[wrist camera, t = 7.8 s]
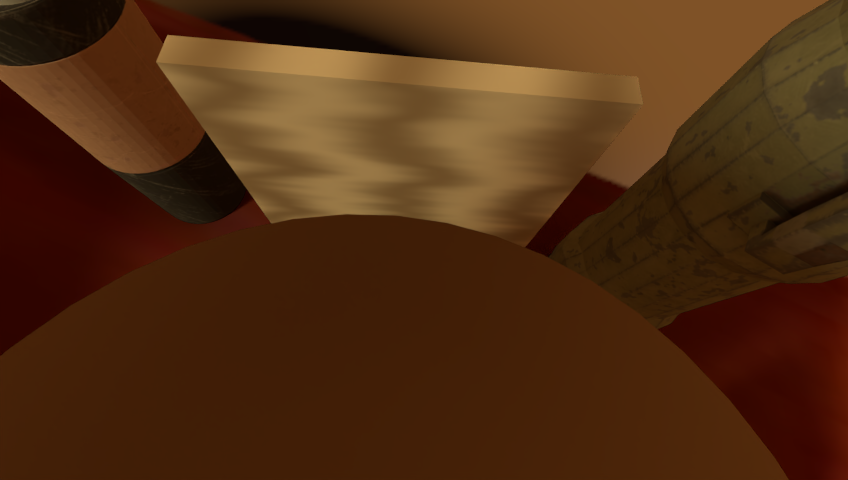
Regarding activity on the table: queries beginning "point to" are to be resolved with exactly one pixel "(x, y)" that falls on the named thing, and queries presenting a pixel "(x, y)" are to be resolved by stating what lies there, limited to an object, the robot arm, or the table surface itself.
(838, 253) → the thermos
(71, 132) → the travel mug
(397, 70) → the bracket
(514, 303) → the cylinder
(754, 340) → the table surface
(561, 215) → the table surface
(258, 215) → the table surface
